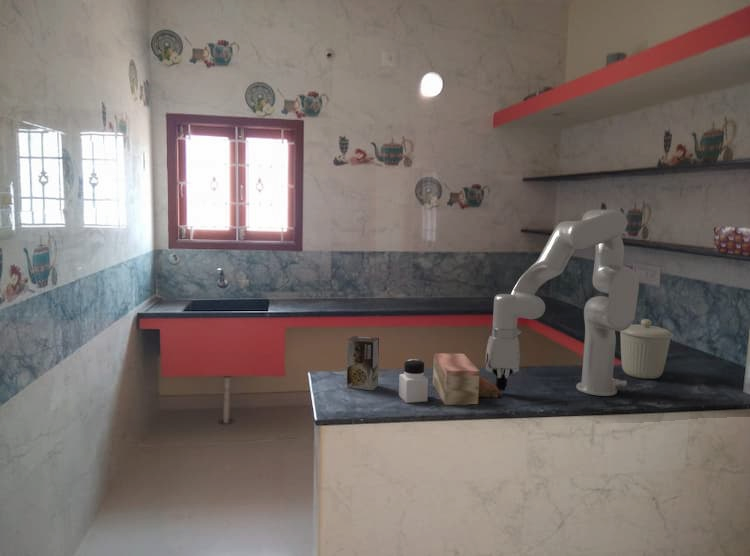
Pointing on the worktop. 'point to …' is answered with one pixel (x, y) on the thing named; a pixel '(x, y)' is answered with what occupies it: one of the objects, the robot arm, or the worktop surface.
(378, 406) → the worktop surface
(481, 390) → the ceramic shard
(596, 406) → the worktop surface
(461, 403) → the overhang bay
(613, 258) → the robot arm
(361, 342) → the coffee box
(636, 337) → the canister
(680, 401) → the worktop surface
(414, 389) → the medicine bottle
